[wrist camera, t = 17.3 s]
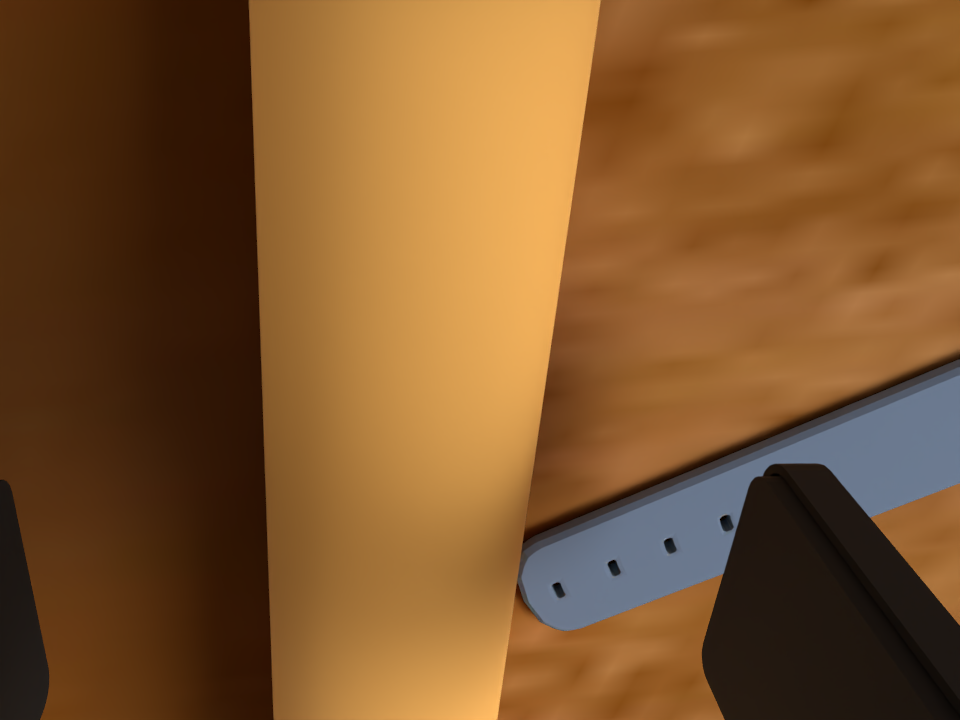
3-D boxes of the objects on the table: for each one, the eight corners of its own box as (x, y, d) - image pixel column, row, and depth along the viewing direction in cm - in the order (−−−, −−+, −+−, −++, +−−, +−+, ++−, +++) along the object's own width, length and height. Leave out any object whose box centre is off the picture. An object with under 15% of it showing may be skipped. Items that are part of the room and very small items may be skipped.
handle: (251, -190, 8) (211, -232, 5) (575, -152, 8) (692, -172, 6) (280, 800, 14) (270, 1007, 12) (461, 785, 15) (490, 980, 12)
